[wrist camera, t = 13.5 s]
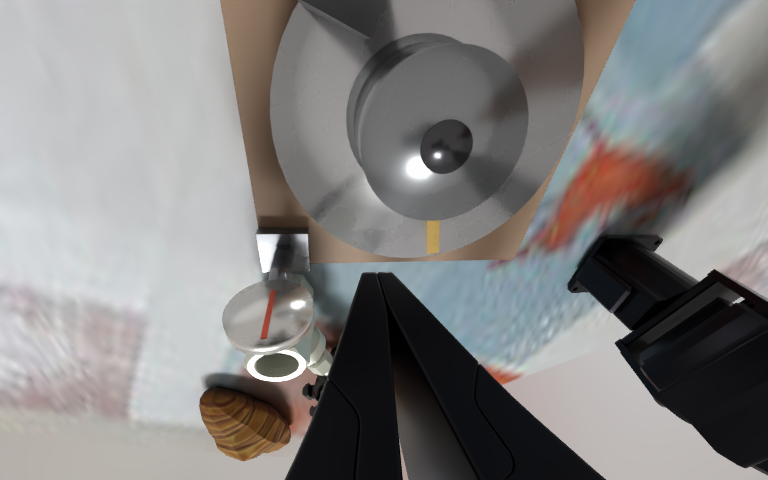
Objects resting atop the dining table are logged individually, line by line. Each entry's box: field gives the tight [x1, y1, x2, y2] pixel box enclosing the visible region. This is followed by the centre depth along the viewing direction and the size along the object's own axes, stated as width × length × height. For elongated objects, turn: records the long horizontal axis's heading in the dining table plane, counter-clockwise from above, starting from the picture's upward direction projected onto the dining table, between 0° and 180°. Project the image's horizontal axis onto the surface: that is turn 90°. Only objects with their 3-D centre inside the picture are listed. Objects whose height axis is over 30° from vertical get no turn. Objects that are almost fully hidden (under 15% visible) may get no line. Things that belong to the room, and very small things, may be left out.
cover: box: [346, 33, 529, 221], centre depth 12 cm, size 7×7×4 cm
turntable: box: [270, 0, 584, 258], centre depth 14 cm, size 16×16×5 cm
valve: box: [244, 274, 337, 417], centre depth 22 cm, size 7×7×12 cm
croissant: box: [199, 388, 291, 461], centre depth 30 cm, size 14×7×5 cm, turn 21°
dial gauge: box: [222, 227, 314, 355], centre depth 15 cm, size 4×3×8 cm
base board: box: [220, 0, 636, 263], centre depth 16 cm, size 19×19×1 cm
